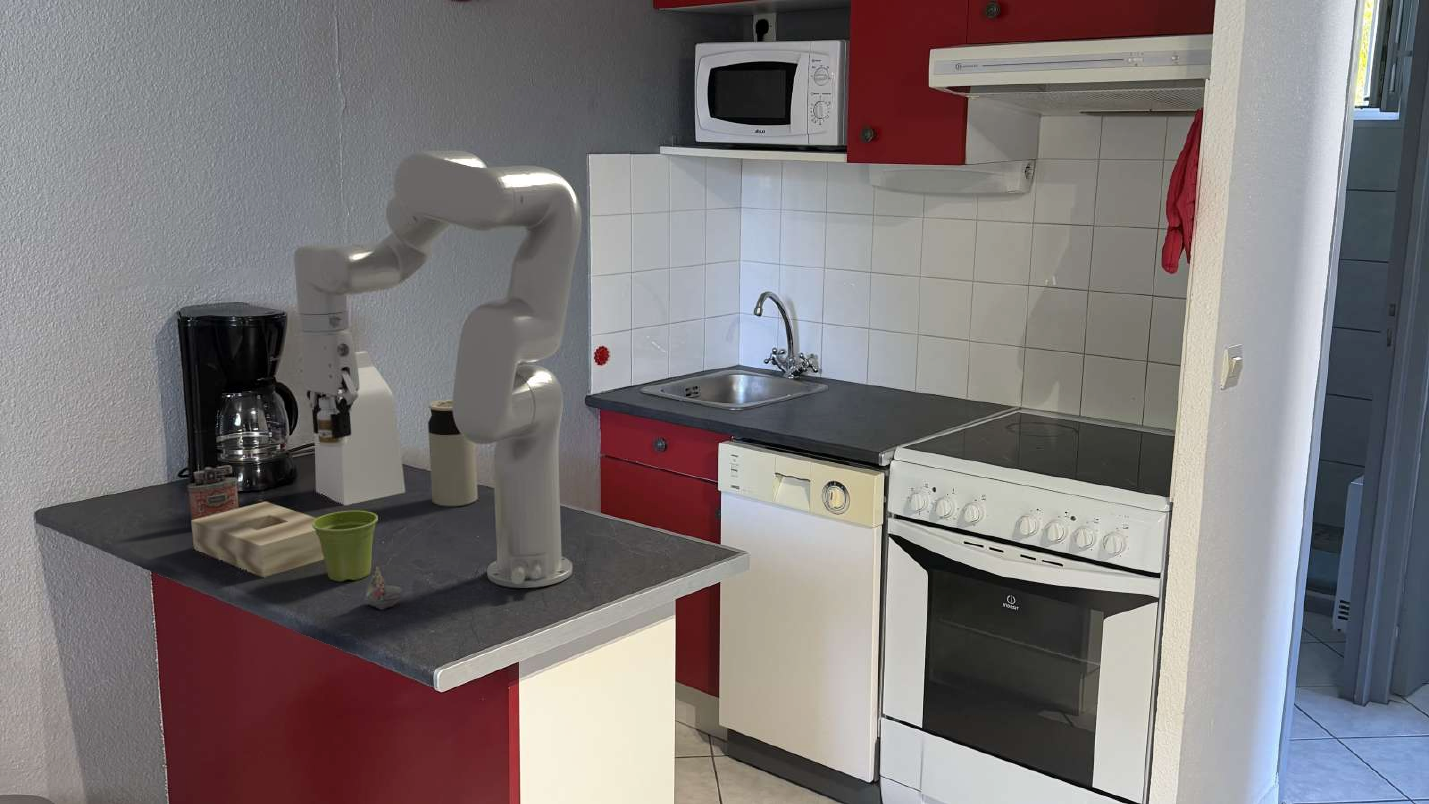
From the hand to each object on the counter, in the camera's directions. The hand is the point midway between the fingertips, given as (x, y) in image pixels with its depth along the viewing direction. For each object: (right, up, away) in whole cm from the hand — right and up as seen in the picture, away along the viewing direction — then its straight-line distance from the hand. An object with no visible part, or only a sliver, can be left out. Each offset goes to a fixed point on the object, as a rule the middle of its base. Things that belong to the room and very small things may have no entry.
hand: (332, 433), depth 200 cm
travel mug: (+15, -13, +22) cm, 30 cm away
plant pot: (+7, -21, -15) cm, 27 cm away
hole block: (-9, -19, -5) cm, 21 cm away
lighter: (-23, -16, +9) cm, 29 cm away
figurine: (+16, -24, -27) cm, 39 cm away
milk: (-3, -12, +28) cm, 30 cm away
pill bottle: (0, -2, 0) cm, 2 cm away
